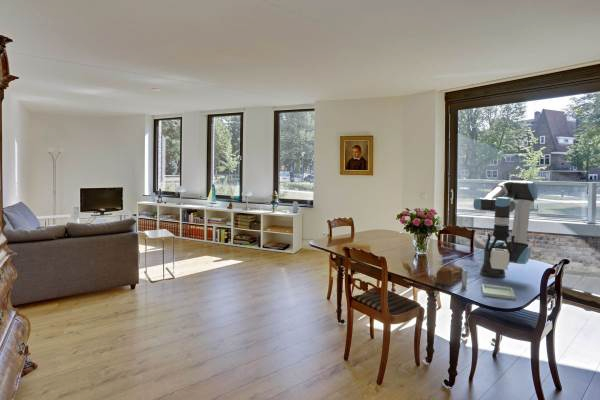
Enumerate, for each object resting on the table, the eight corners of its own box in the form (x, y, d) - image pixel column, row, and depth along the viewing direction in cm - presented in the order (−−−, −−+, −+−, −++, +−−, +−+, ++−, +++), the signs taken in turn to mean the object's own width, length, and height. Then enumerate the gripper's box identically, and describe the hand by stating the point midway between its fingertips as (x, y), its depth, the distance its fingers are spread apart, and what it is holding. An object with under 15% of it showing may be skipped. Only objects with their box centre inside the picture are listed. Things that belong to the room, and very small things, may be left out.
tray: (481, 287, 231) (481, 284, 230) (511, 290, 224) (511, 287, 224) (483, 295, 216) (483, 292, 216) (515, 299, 210) (515, 296, 210)
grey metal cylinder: (460, 287, 230) (461, 269, 228) (467, 288, 228) (468, 270, 227) (460, 289, 226) (461, 270, 225) (467, 290, 225) (468, 271, 224)
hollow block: (490, 264, 224) (491, 248, 223) (506, 266, 221) (507, 249, 220) (491, 268, 217) (492, 251, 216) (507, 269, 213) (508, 252, 212)
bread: (451, 287, 232) (452, 271, 231) (435, 283, 239) (435, 267, 238) (463, 280, 245) (463, 265, 244) (446, 276, 252) (447, 262, 251)
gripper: (481, 224, 217) (479, 263, 219) (523, 226, 209) (520, 267, 211) (481, 222, 224) (479, 260, 226) (521, 224, 216) (519, 263, 218)
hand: (499, 263), depth 218 cm, fingers closed on hollow block, 8 cm apart
